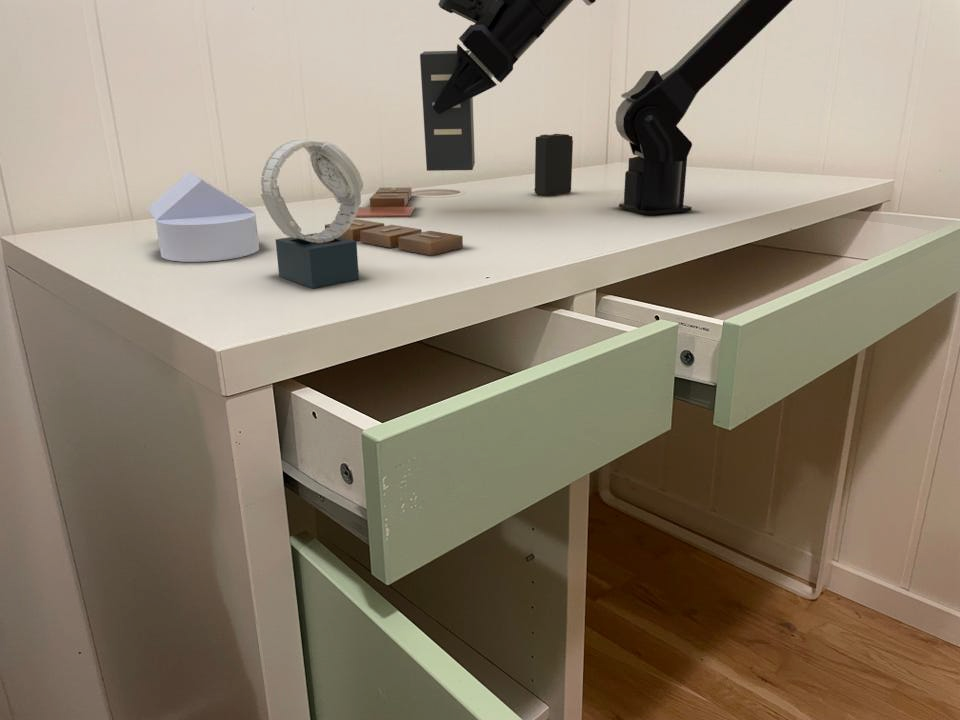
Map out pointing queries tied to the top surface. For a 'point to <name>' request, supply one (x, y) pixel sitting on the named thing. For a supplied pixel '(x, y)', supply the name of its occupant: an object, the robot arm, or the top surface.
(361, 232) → the segmented wooden bar
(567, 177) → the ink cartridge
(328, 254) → the watch
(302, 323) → the top surface
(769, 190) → the top surface
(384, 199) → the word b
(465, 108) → the striped dark tower
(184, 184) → the wedge on round base
